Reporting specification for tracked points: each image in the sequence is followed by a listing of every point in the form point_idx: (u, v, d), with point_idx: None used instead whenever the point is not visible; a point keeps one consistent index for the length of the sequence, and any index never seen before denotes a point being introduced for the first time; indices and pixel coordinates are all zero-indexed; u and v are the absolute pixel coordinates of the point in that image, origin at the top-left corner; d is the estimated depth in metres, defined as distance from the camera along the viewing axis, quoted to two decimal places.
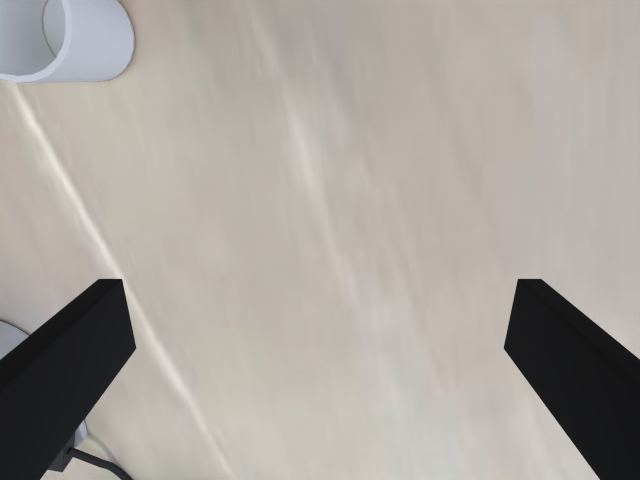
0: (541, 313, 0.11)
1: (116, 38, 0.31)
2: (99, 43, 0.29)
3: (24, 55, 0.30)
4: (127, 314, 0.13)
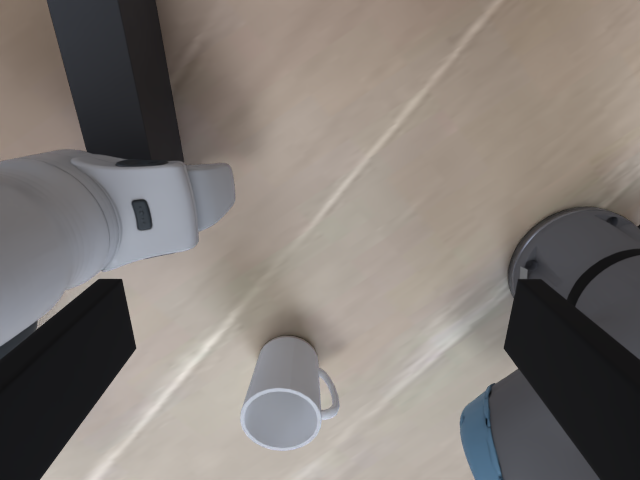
0: (541, 313, 0.11)
1: None
2: None
3: None
4: (127, 314, 0.13)
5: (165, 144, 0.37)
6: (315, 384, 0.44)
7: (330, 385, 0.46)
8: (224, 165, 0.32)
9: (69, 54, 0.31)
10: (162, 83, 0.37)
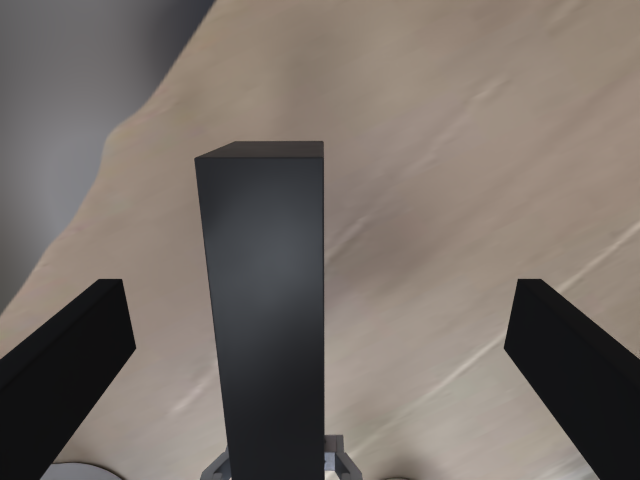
0: (541, 313, 0.11)
1: None
2: None
3: None
4: (127, 314, 0.13)
5: None
6: None
7: None
8: None
9: (230, 360, 0.20)
10: None
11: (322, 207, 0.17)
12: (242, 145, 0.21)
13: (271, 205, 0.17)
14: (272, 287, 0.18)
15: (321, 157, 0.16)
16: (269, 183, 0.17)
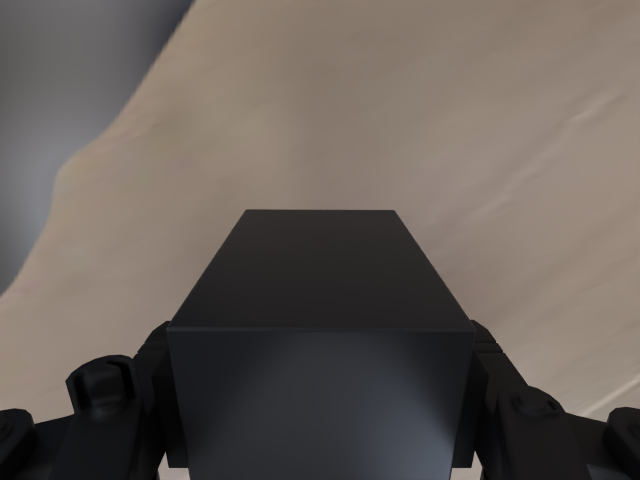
0: None
1: None
2: None
3: None
4: None
5: None
6: None
7: None
8: None
9: None
10: None
11: (458, 424, 0.08)
12: (263, 232, 0.12)
13: (342, 419, 0.08)
14: None
15: (471, 327, 0.07)
16: (343, 379, 0.07)
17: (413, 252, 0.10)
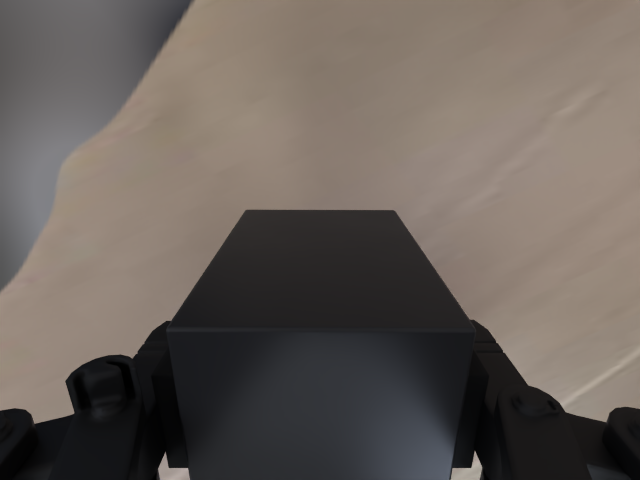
0: None
1: None
2: None
3: None
4: None
5: None
6: None
7: None
8: None
9: None
10: None
11: (458, 425, 0.08)
12: (263, 233, 0.12)
13: (343, 420, 0.08)
14: None
15: (471, 328, 0.07)
16: (343, 379, 0.07)
17: (413, 252, 0.10)
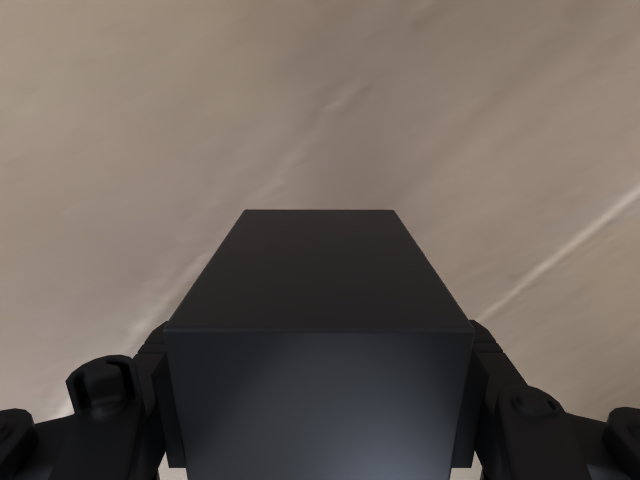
0: None
1: None
2: None
3: None
4: None
5: None
6: None
7: None
8: None
9: None
10: None
11: (457, 425, 0.08)
12: (262, 232, 0.12)
13: (341, 420, 0.07)
14: None
15: (469, 327, 0.07)
16: (341, 380, 0.07)
17: (412, 252, 0.10)
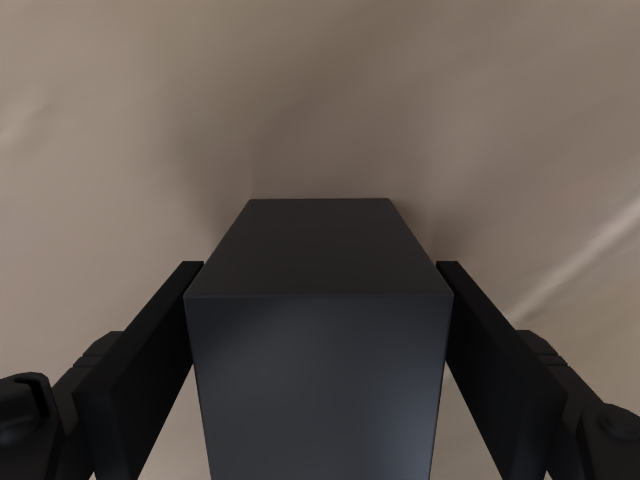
0: None
1: None
2: None
3: None
4: None
5: None
6: None
7: None
8: None
9: None
10: None
11: (441, 381, 0.09)
12: (266, 219, 0.13)
13: (339, 377, 0.09)
14: None
15: (449, 292, 0.08)
16: (338, 340, 0.08)
17: (403, 233, 0.11)
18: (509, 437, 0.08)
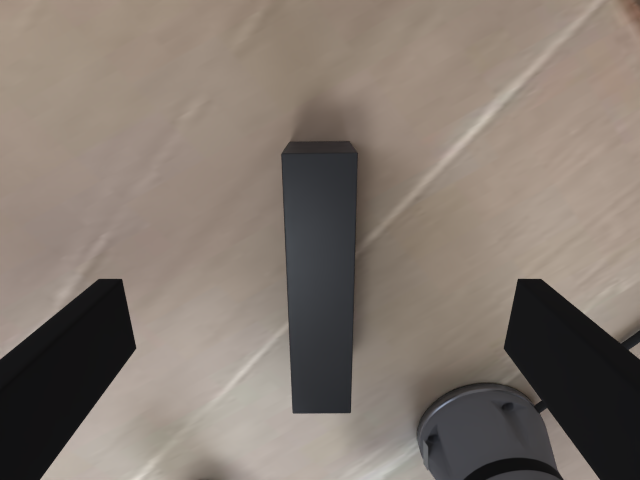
0: (541, 313, 0.11)
1: None
2: None
3: None
4: (127, 314, 0.13)
5: None
6: None
7: None
8: None
9: (295, 281, 0.32)
10: None
11: (356, 182, 0.29)
12: (299, 144, 0.33)
13: (325, 181, 0.29)
14: (324, 232, 0.30)
15: (356, 152, 0.28)
16: (325, 168, 0.28)
17: (349, 146, 0.31)
18: None
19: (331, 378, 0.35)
